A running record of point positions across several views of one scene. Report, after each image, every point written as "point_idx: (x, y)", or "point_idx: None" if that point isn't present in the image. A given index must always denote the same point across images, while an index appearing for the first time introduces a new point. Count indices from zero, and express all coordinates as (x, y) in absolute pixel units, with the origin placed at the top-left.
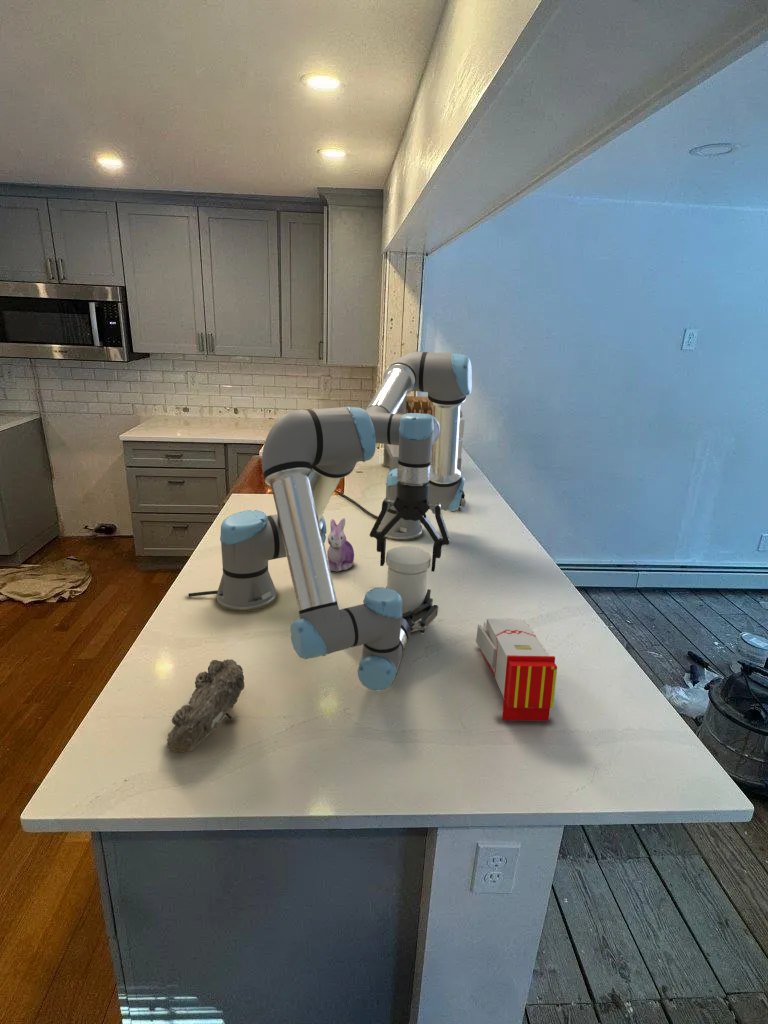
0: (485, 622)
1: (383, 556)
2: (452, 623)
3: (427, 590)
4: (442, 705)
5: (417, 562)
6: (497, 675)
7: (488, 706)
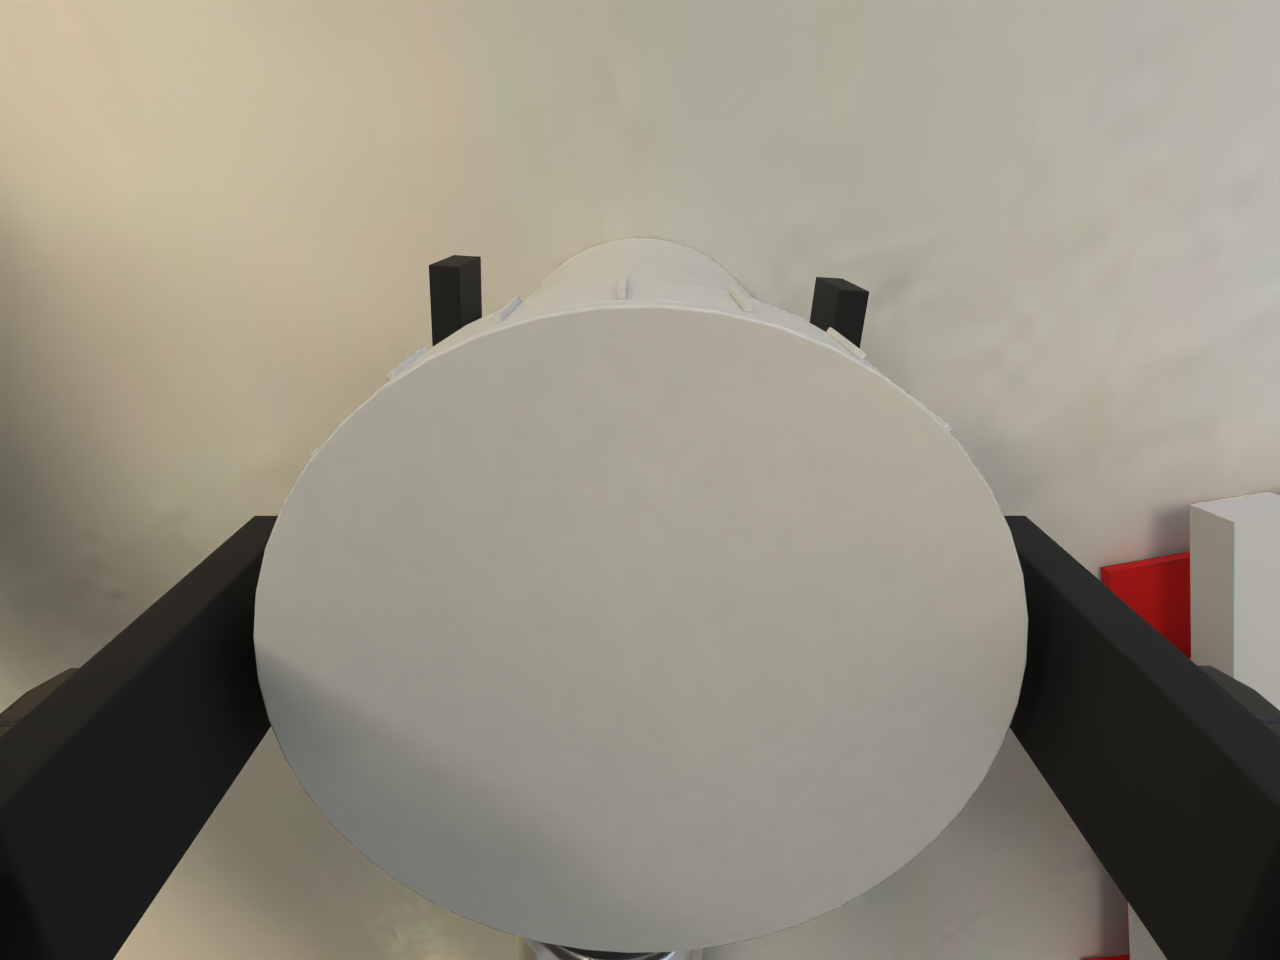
0: (1241, 540)
1: (254, 744)
2: (973, 308)
3: (836, 320)
4: (863, 932)
5: (803, 880)
6: (1149, 943)
7: (1044, 909)
